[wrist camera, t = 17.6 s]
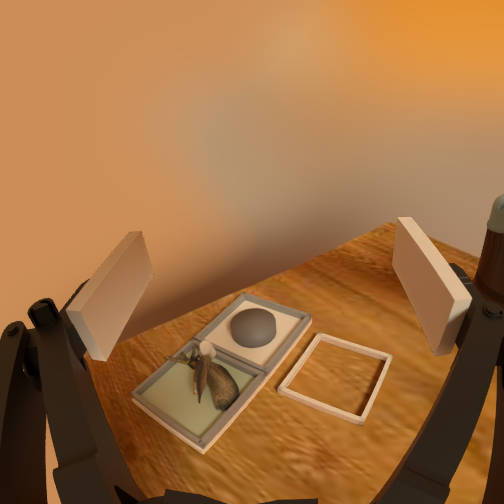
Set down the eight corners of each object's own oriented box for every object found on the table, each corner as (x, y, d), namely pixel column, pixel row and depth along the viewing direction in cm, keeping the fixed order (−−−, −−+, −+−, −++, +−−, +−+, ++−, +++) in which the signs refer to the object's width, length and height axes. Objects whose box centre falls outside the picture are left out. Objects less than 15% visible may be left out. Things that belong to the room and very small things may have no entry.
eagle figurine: (160, 382, 39) (191, 419, 32) (169, 335, 39) (203, 366, 32) (207, 381, 44) (243, 412, 37) (217, 337, 44) (256, 364, 37)
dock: (246, 300, 57) (244, 287, 56) (311, 323, 50) (312, 309, 49) (133, 403, 38) (126, 390, 37) (203, 454, 31) (197, 444, 30)
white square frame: (318, 336, 47) (318, 331, 47) (391, 359, 41) (393, 355, 40) (277, 392, 39) (277, 388, 38) (362, 425, 32) (363, 422, 32)
